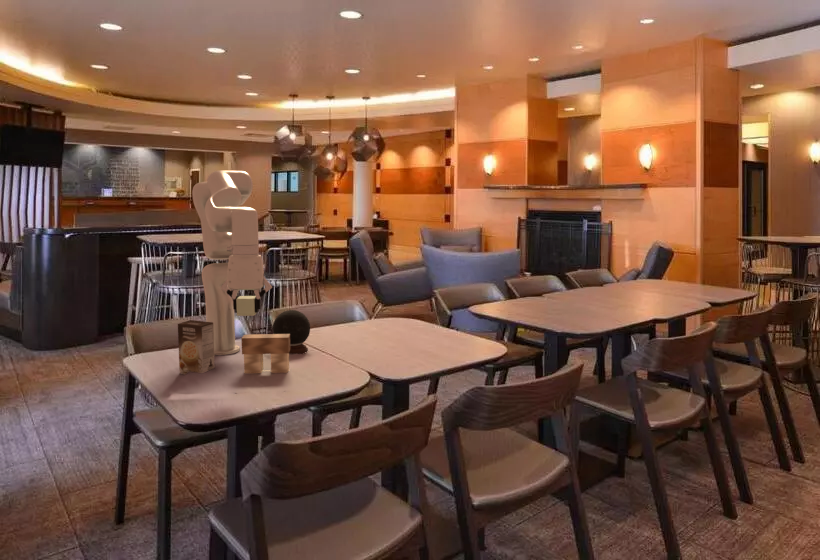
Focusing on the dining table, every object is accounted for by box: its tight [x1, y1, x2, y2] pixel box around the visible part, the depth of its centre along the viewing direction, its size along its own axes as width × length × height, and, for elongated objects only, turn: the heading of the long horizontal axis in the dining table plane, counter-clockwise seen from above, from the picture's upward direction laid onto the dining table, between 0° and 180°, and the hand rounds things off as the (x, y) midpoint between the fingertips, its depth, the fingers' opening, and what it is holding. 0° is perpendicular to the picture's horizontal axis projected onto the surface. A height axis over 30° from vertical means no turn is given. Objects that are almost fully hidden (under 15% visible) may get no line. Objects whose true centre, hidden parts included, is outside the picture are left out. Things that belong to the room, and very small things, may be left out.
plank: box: [241, 333, 290, 355], centre depth 187 cm, size 14×5×5 cm, turn 95°
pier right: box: [270, 353, 290, 374], centre depth 188 cm, size 5×5×6 cm
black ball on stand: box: [272, 309, 311, 355], centre depth 216 cm, size 13×13×15 cm
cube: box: [236, 295, 257, 317], centre depth 180 cm, size 5×5×5 cm
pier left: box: [243, 354, 264, 374], centre depth 187 cm, size 5×5×6 cm
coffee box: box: [177, 319, 216, 375], centre depth 189 cm, size 9×6×16 cm
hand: (247, 311), depth 180 cm, fingers closed on cube, 4 cm apart
